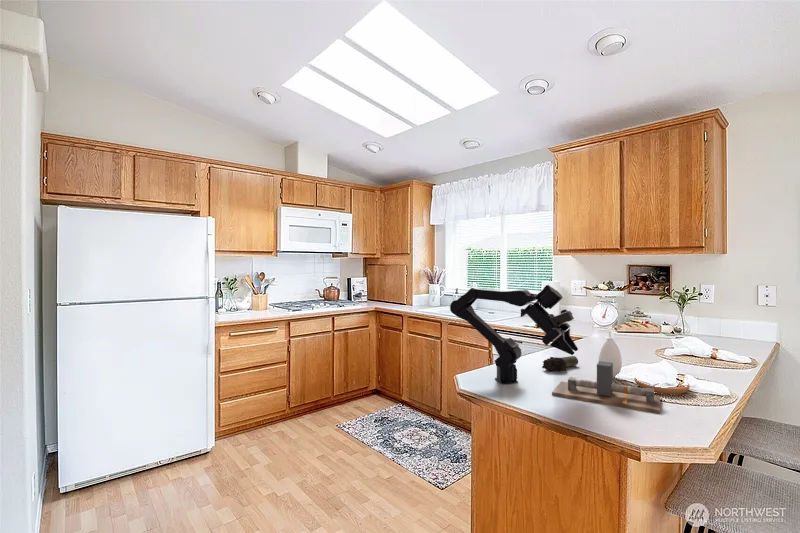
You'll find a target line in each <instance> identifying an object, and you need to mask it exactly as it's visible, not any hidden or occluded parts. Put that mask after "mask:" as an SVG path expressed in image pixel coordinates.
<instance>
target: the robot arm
mask: <svg viewBox="0 0 800 533" xmlns="http://www.w3.org/2000/svg"><path fill="white" fill-rule="evenodd" d="M479 299H480V300H489V301H496V302H504V303H507V304H509V305H513V306H516V307H524V306H526V307H525V308H521V309H520V317H525V316H526V315H527V316H528V318H530V319H531V320H532V321H533V322H534V324H536V328H537V329H541V331H542V332H543V333H544V335H543V336H542V337H541V339H542V340H541V341H542V343H543V345H544V346H546V347H547V346H550V347H553V348H555V349H558V350H560V351H562V352H564V353H566V354H569V355H570V356H574V355H575V352H577V351H578V350H579V347H578V346H577V344H576V343H575V341H574V339H573V338H572V336H571V325H570V324H569V322H571V321H573V320H574V319H575V318H574V316H573V312H571V310H567V309H566V308H564V309H563V310H560V313H559V314H557V315H554V314H553V313H549V312H548V311H547V309H550V310H551V309H552V308H554V307H555V306H556V305H557V304H558V303H559V302H560V301H561V300H563V295H562V294H561V293H560V292H559V290H557V289H555V288H554V287H552V286H551V285H550V284H546V285H544V287H543V289H542V290H540V292H538V293H531V292H530V291H529V290H528V289H516V290H515V289H514V290H500V289H499V290H497V289H487V288H486V289H485V288H480V287H479V288H478V287H473V288H470V289H468V290H467V291H466V292H465V293H464V294H463V295H461V296H460V297H458V299H455V300H453V301H451V303H450V305H449V309H450V310H449V311H450V312H451V313H452V315H455V316H456V317H457V318H459V319H461V320H463V321H466V322H467V323H468V324H469V325H471V327H473V328H474V330H476V331H477V332H478V333H480V335H481V336H482V337H483V338H485V339H486V340H487V341H488V342H489V343H490V344H491V345H492V346H493V347H494V348H495V351H496V353H497V355H498V357H497V358H496V359H495V360H494V363H495V366H496V377H494V380H495V381H497V382H499V383H500V384H502V385H505V384H506V385H507V384H517V383H519V380H518V369H517V366H516V363H517V360H519V359H520V358H521V356H522V349H521V348H520V344H519V343H516V342H515V341H514V339H513V338H512V337H509V338H504V337H503V336H501V334H499V333H498V332H497V331H496V330H495V329H493V327H491V325H489V324H488V323H487V322H486V321H485V320H484V319H482V318H481V316H479V315H478V314H477V313H476V312H475V309H474V308H473V306H472V305H473V304H474V303H475V302H476V300H479ZM533 302H534V303H533ZM531 303H533V304H531Z"/></svg>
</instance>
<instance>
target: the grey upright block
mask: <svg viewBox="0 0 800 533" xmlns="http://www.w3.org/2000/svg"><path fill="white" fill-rule="evenodd" d="M596 382H597V394H598V395H605V396H611V392H612V393H613V391H611V384H614V383H613V382H614V378H613V363H612V362H603V361H599V362H598V361H597V364H596Z"/></svg>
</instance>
